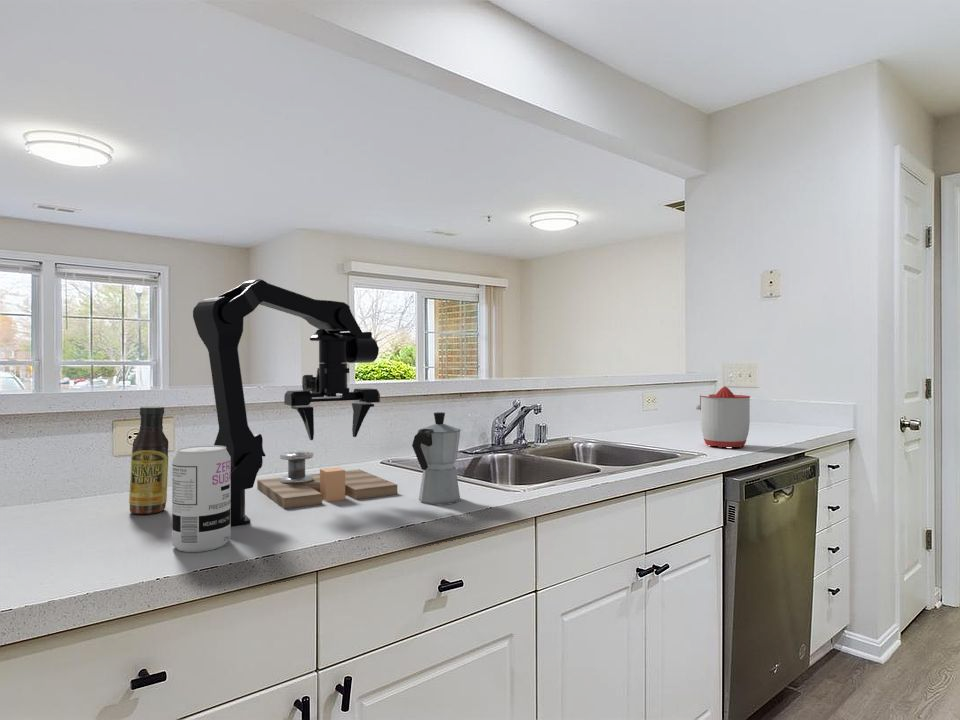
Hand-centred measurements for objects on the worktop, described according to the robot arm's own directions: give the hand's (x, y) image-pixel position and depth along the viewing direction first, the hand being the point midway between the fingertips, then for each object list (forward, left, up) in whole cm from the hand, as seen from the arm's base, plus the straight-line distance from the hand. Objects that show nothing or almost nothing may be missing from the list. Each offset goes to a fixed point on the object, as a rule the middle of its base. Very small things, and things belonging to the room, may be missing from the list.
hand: (333, 438), depth 127 cm
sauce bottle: (+8, +33, -13) cm, 36 cm away
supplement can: (-20, +28, -13) cm, 37 cm away
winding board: (+7, -1, -12) cm, 14 cm away
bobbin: (+12, +4, -10) cm, 16 cm away
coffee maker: (-14, -17, -13) cm, 25 cm away
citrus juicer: (+4, -135, -13) cm, 136 cm away
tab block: (0, 0, -13) cm, 13 cm away
